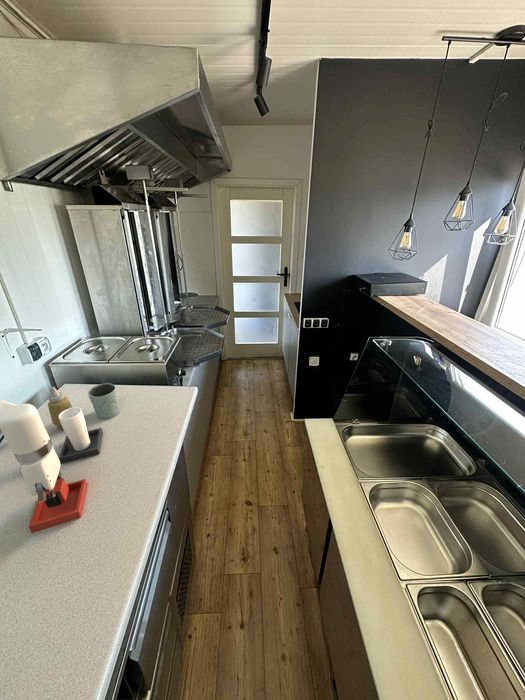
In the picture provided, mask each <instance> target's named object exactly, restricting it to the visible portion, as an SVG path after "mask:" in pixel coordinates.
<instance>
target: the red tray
mask: <svg viewBox="0 0 525 700" xmlns="http://www.w3.org/2000/svg"><path fill="white" fill-rule="evenodd" d="M67 485H68V488H69V491H68V494H67V498H66V502H63V503H62V504H61V505H58V506H55V507H51V508H48V507H47V506H46V505H45V503H44V502H40V503H39V502H38V500H37V501H36V504H35V507H34V510H33V513H32V515H31V518H30V521H29V524H28V529H29V531H30V532H31V534H33V533H37V532H39V531H42V530H46V529H49V528H52V527H56V526H59V525H62V524H65V523H68V522H71V521H74V520H78V519H80V518H82V515H83V510H84V505H85V500H86V494H87V490H88V489H87V488H88V482H87V479H86V478H83V479H79V480H75V481H72V482H68V483H67Z"/></svg>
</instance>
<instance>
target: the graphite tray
mask: <svg viewBox="0 0 525 700" xmlns="http://www.w3.org/2000/svg"><path fill="white" fill-rule="evenodd" d="M87 431H88V435H89V439H90V442H91V443H90V446H89V447H88V448H86V449H85V450H82V451H76V450H74V448H73V446H72V444H71V442H70V440H69V438H68V437H67V435H66V436H65V439H64V441H63V445H62V448H61V451H60V454H59V456H58V458H59V460H60V464H61V465H62V464H66V463H70V462H75V461H78V460H83V459H85V458H91V457H94V456H96V455H100V453H101V447H102V441H103V435H104V432H103V428H102V427H100V428H94V429H89V430H87Z"/></svg>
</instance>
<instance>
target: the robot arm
mask: <svg viewBox="0 0 525 700" xmlns="http://www.w3.org/2000/svg"><path fill="white" fill-rule="evenodd" d="M1 435H3V437H4V439H5V441H6V442H7V445H8V446H9V448H10V450H11V452H12V454H13V455H14V457H15V459H16V461H17V463H18V464H19V465H20V471H21V475H22V478H23V481H24V484H25V486H26V487H27V490H28V492H29V494H30V496H32V497H35V496H37V501H38V502H39V503H40V502H44V501H45V503H46V504H47V506H48V508H51V507H55V506H58V505H61V504H62V501H61V499H60V497H59V495H58V493H56V492H55V489H54V486H55V483H56V480H58V479H62V478H63V477H62V476H63V475H62V473H61V471H60V470H61V465H62V464H61V462H60V460H59V456H58V453H57V452H56V450H55V449H54V444H53V442H52V440H51V438H50V436H49V434H48V431H47V429H46V427H45V424H44V422H43V420H42V418H41V415H40V413H39V411H38V409H37V407H36V406H35V405H33V404H31V403H19V404H18V403H13V402H11V401H7V400H2V399H1V400H0V436H1ZM48 490H49V491H51V493H50V494H45V491H48Z"/></svg>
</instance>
